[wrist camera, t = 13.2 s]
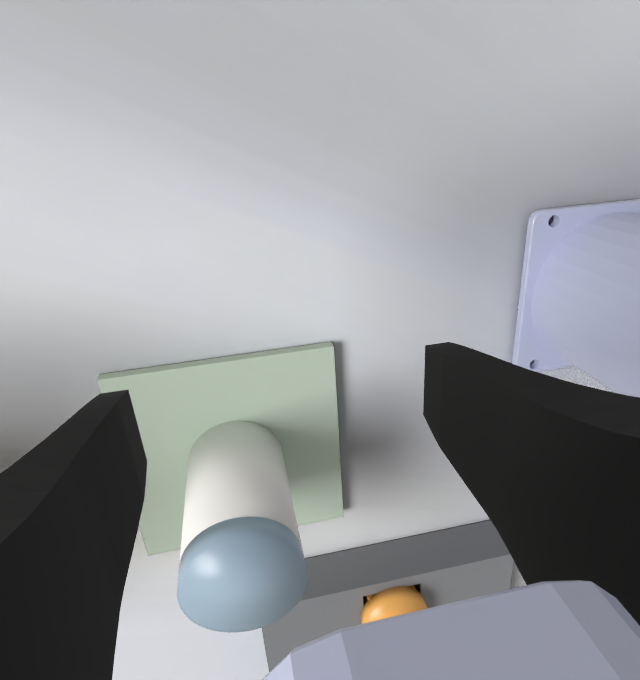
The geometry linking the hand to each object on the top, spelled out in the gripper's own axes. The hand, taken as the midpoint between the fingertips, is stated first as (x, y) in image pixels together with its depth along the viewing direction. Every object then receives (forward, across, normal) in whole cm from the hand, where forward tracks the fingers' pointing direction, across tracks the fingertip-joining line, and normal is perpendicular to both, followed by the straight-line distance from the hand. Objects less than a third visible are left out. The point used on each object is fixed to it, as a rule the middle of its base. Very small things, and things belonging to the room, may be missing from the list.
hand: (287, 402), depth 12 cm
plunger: (+9, -5, +18) cm, 21 cm away
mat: (+9, +2, +8) cm, 13 cm away
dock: (+9, -5, +22) cm, 24 cm away
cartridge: (+9, +2, +8) cm, 12 cm away
